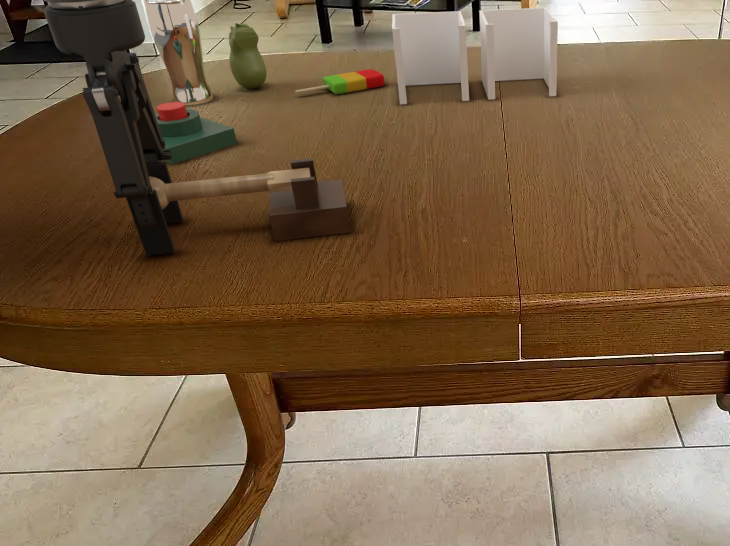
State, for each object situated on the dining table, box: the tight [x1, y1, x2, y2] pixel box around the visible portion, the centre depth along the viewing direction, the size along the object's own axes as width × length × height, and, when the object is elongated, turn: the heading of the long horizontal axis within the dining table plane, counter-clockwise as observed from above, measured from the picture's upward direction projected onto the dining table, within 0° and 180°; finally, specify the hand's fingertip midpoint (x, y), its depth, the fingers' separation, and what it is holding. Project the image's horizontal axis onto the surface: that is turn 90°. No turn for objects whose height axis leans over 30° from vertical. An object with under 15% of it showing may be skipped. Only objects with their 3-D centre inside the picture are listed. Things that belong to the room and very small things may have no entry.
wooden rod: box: [149, 168, 311, 210], centre depth 78 cm, size 18×4×4 cm, turn 104°
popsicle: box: [294, 68, 385, 95], centre depth 123 cm, size 6×15×2 cm, turn 122°
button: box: [156, 101, 188, 121], centre depth 101 cm, size 4×4×2 cm
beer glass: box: [143, 0, 214, 106], centre depth 116 cm, size 7×7×15 cm
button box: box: [154, 108, 238, 165], centre depth 102 cm, size 12×10×4 cm
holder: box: [268, 157, 352, 242], centre depth 81 cm, size 8×8×6 cm
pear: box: [228, 22, 267, 90], centre depth 123 cm, size 6×5×10 cm
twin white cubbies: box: [391, 7, 559, 105], centre depth 119 cm, size 25×11×11 cm, turn 97°
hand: (165, 236), depth 79 cm, fingers open, 7 cm apart
